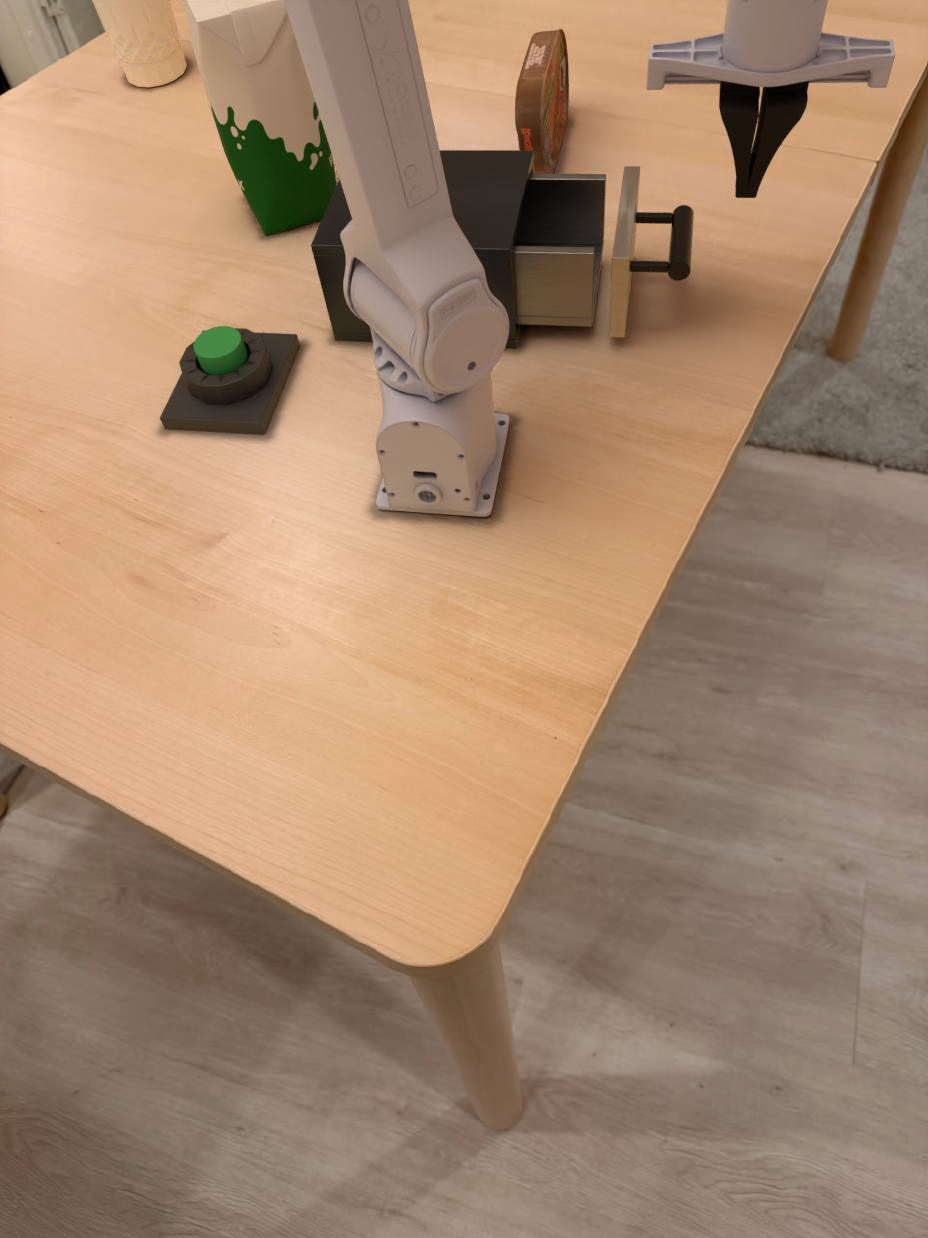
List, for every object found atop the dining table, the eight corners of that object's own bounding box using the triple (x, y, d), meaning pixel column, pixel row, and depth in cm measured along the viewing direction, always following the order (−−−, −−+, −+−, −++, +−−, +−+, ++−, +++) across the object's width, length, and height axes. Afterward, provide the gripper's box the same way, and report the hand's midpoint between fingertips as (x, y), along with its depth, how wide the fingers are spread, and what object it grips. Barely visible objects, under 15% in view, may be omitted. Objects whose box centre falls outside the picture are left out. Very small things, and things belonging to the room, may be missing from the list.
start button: (239, 377, 69) (232, 358, 67) (194, 375, 69) (186, 356, 68) (253, 344, 71) (247, 326, 69) (209, 343, 71) (202, 324, 70)
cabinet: (536, 249, 78) (533, 149, 71) (516, 348, 71) (510, 249, 64) (370, 245, 81) (351, 149, 74) (335, 341, 74) (310, 245, 67)
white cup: (109, 88, 102) (68, -14, 94) (142, 53, 106) (107, -48, 98) (172, 92, 100) (136, -12, 92) (204, 56, 104) (172, -46, 96)
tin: (548, 193, 83) (546, 97, 76) (514, 192, 83) (509, 96, 76) (571, 105, 91) (572, 10, 84) (540, 105, 91) (537, 11, 84)
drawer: (688, 246, 75) (698, 166, 69) (683, 339, 69) (693, 259, 63) (473, 242, 78) (465, 165, 73) (449, 331, 72) (439, 253, 66)
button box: (264, 435, 69) (253, 405, 66) (165, 429, 70) (150, 399, 68) (300, 345, 74) (291, 314, 72) (207, 342, 75) (194, 311, 73)
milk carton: (353, 216, 84) (300, -37, 67) (257, 245, 82) (178, -5, 66) (327, 169, 88) (271, -78, 72) (235, 196, 87) (158, -49, 71)
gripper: (910, -68, 54) (852, 157, 65) (658, -59, 57) (643, 157, 68) (922, -13, 50) (858, 216, 62) (651, -6, 53) (637, 213, 64)
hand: (745, 189), depth 65 cm, fingers closed
